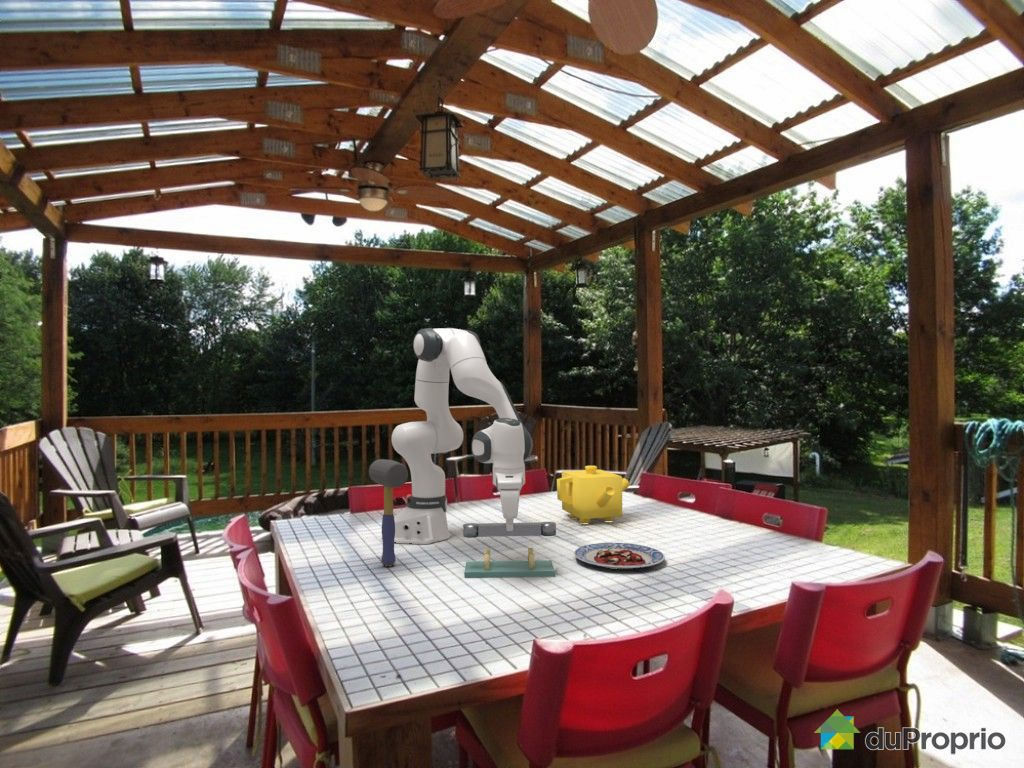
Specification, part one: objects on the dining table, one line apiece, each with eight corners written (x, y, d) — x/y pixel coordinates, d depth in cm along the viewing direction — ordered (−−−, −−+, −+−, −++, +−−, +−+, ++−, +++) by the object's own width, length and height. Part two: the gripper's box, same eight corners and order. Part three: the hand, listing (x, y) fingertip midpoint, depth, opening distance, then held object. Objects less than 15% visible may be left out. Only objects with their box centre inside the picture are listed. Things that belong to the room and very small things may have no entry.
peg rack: (464, 577, 163) (464, 557, 163) (466, 566, 173) (466, 547, 173) (554, 576, 164) (554, 555, 164) (551, 565, 174) (551, 546, 174)
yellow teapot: (652, 526, 221) (652, 470, 221) (576, 532, 212) (576, 474, 212) (609, 507, 254) (609, 459, 254) (542, 512, 246) (542, 461, 246)
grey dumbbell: (462, 537, 165) (462, 526, 165) (463, 534, 170) (463, 523, 170) (556, 536, 166) (556, 524, 166) (555, 532, 171) (555, 521, 171)
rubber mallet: (410, 568, 171) (410, 460, 171) (386, 573, 167) (385, 463, 167) (390, 558, 181) (390, 456, 181) (367, 563, 177) (366, 458, 177)
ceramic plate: (680, 572, 168) (680, 561, 168) (589, 577, 163) (589, 566, 163) (644, 547, 193) (644, 538, 193) (564, 551, 189) (564, 542, 189)
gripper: (497, 472, 178) (497, 520, 178) (497, 483, 158) (498, 537, 158) (518, 472, 179) (519, 520, 178) (522, 483, 158) (522, 537, 158)
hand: (509, 528), depth 168 cm, fingers closed on grey dumbbell, 3 cm apart
